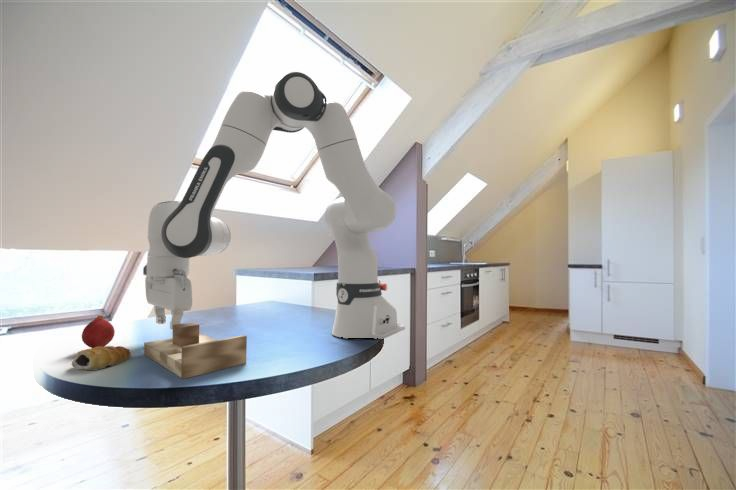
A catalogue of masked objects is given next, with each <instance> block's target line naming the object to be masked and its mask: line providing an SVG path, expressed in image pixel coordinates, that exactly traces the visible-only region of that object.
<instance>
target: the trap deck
mask: <svg viewBox="0 0 736 490" xmlns="http://www.w3.org/2000/svg"><path fill="white" fill-rule="evenodd" d="M247 336H248V335H246V334H242V335H237V336H230V337H227V338H221V339H217V338H213V337H211V336H208V335H205V334H203V333H199V343H197V344H191V345H186V346H181V347H179V346H177V345H175V344H173V343H172V341H173V337H171V338H165V339H159V340H153V341H146V342H143V355H145V356H146V357H148V358H149V359H150V360H152V361H154V362H155V363H158V364H159V365H160V366H162V367H164V368H165V369H166V370H168V371H170V372H172V373H173V374H175V375H176V376H178V377H179V378H180V379H183V380H185V379H188V378H192V377H197V376H199V375H201V376H202V375H205V374H208V373H213V372H216V371H220V370H224V369H228V368H232V367H236V366H240V365H244V364H247V345H248V343H247V339H248V337H247Z"/></svg>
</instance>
